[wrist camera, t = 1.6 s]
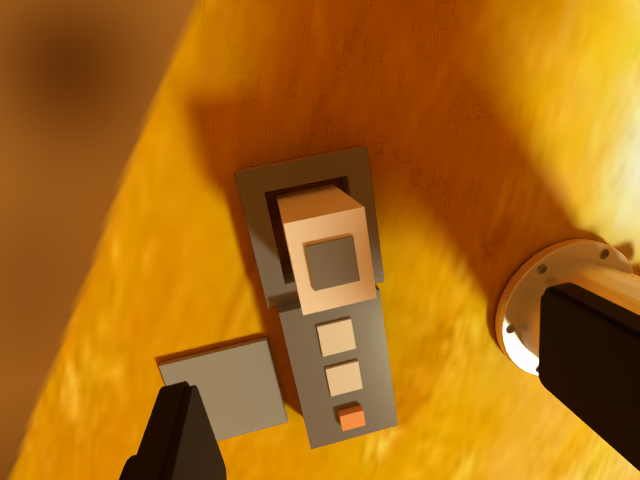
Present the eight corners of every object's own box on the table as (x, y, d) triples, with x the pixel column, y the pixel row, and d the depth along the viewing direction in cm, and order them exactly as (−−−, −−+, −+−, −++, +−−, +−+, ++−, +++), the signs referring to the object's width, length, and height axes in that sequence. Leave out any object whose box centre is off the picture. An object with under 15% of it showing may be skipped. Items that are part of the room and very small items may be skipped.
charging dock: (358, 146, 24) (374, 148, 21) (392, 396, 31) (409, 428, 28) (236, 169, 24) (232, 176, 20) (298, 421, 30) (303, 458, 27)
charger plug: (332, 184, 25) (365, 207, 17) (343, 250, 27) (378, 299, 19) (276, 195, 25) (283, 225, 17) (290, 262, 26) (303, 317, 18)
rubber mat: (266, 336, 27) (266, 340, 27) (287, 417, 30) (287, 422, 30) (160, 362, 27) (158, 366, 26) (191, 443, 29) (189, 448, 29)
